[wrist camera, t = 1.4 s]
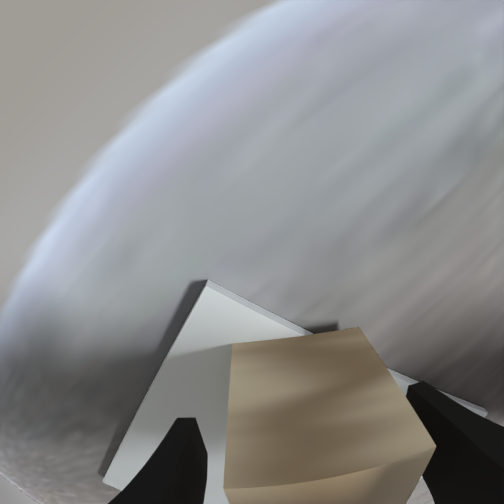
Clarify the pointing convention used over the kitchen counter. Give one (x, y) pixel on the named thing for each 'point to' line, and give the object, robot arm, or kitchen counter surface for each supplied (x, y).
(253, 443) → the maple block
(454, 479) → the robot arm
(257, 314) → the white square board
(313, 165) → the kitchen counter surface
